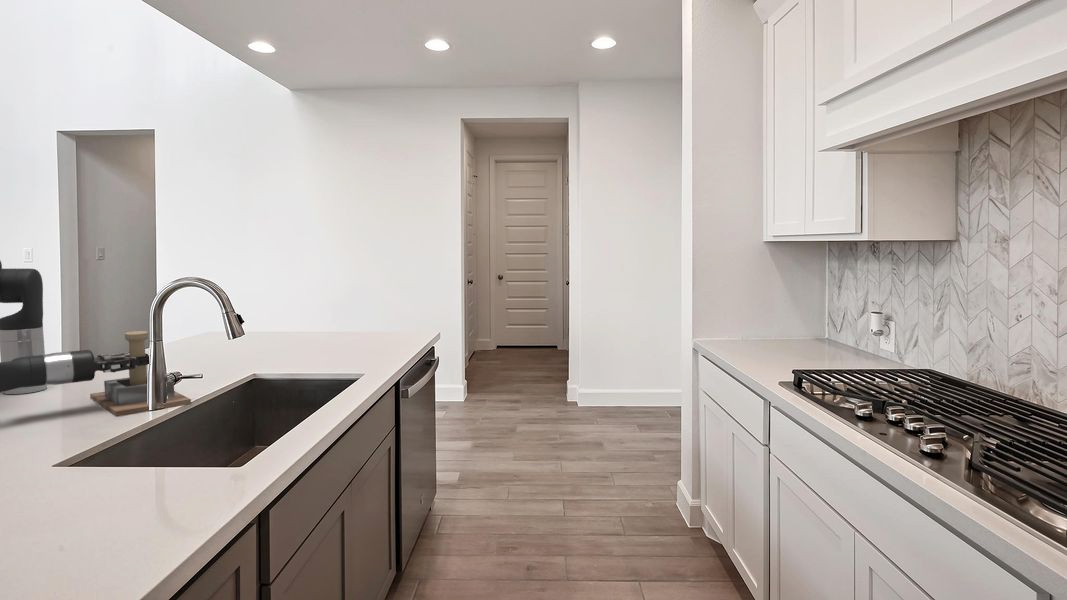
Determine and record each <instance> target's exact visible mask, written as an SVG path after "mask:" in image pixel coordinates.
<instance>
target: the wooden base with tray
mask: <svg viewBox="0 0 1067 600" xmlns="http://www.w3.org/2000/svg"><path fill="white" fill-rule="evenodd" d="M168 379H169V380H168V382H167V396H168V399H167V402H166V403H163V404H158V405H159V406H162V405H163V406H164V407H163V409H167V408H174V407H180V406H185V405H191V404H192V399H191V398H189V397H188V396H185V395H184V394H182V393H180V392H178V391H175V382H174V381H173V380H172V379H170V378H168ZM103 383H104V384H103V385H104V391H101V392H94V393H90V394H89V395H90V398H89V399H91V400H92V399H93V400H94V401H93V400H92V401H93V402H95V401H96V402H97V404H98V405H99V406H101V407H102V408H104V410H106V411H107V412H108V413H110V414H112V415H113V416H115V417H116V418H117V417H123V416H128V415H134V414H139V413H146V412H150V411H149V406H148V404H147V382H146V384H141V385H134V386H132V385H131V384H130V378H129V377H122V378H116V379H109V380H104V381H103ZM96 402H95V403H96ZM158 405H157V406H158ZM160 408H161V407H160Z"/></svg>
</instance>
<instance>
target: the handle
mask: <svg viewBox="0 0 1067 600" xmlns="http://www.w3.org/2000/svg"><path fill="white" fill-rule="evenodd" d="M124 339H125V341H128V345H129V346H128V347H129V349H128V352H129V353H128V354H129V357H141V356H146V354H147V353H146V347H145V346H146V343H145V341H147V340H148V339H149V332H148V331H147V330H139V331H138V330H136V331H135V330H133V331H127V332H125V333H124ZM145 353H146V354H145ZM129 365H130V361H129ZM147 375H148V365H141V366H137V367H136V368H134V369H128V376H129V377H128V378H130V384H131V385H132V386H134V385H141V384H146V382H147Z"/></svg>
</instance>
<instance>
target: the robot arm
mask: <svg viewBox="0 0 1067 600" xmlns="http://www.w3.org/2000/svg"><path fill="white" fill-rule="evenodd" d="M43 295H44V284H43V277H42V275H41V273H40V271H39V270H38V269H35V268H3V264H2V261H1V260H0V303H1V304H2V303H3V304H22V307H21V309H20V310H19V311H17V312H15V313H13V314H9V315H6V316H2V317H0V393H3V394H5V395H21V394H29V393H36V392H40V391H44V390H46V389H47V388H48V386H49V385H52V386H54V385H65V384H74V383H81V382H90V381H93V380H94V379H95V376H96V372H98V371H99V372H102V373H117V372H121V371H127V370H128V371H129V369H134V368H136V367H137V366H141V365H147V366H149V365H148V364H149V356H150V355H149V353H146V352H145V354H146V356H141V357H129V353H123V352H122V353H113V354H106V353H105V354H98V355H96V357H95V355H94V353H93V352H92V350H91V349H80V350H71V351H62V352H60V351H59V352H52V353H48V354H47V353H45V339H44V338H45V337H44V322H43V321H44V301H43V300H44V299H43V298H44V296H43ZM129 361H130V365H129Z"/></svg>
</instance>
